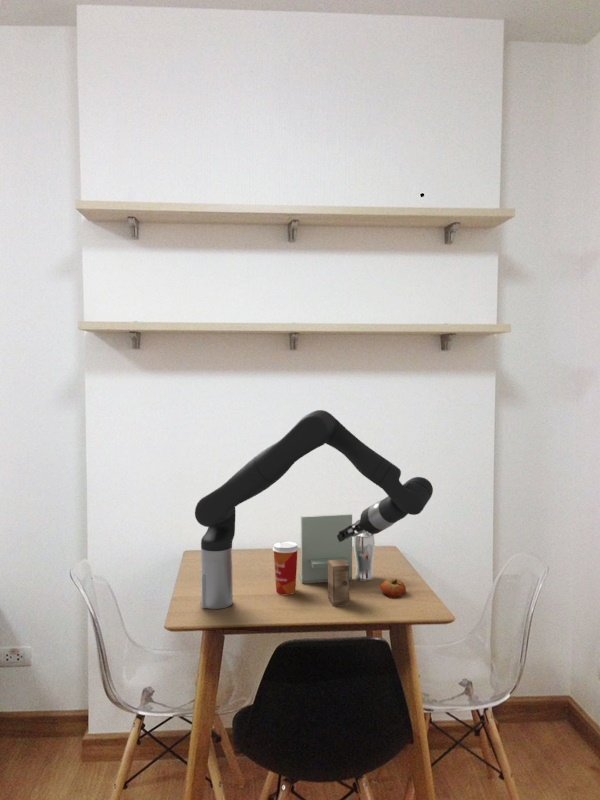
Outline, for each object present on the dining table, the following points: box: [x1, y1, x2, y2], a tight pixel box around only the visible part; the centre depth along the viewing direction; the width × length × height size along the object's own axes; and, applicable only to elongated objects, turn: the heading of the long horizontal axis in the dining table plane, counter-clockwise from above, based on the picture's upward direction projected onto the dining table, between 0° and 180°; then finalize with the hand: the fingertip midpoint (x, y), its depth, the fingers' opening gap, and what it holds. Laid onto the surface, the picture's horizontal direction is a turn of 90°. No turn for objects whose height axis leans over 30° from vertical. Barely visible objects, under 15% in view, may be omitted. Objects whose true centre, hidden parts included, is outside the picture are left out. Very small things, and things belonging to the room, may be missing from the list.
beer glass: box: [353, 531, 376, 582], centre depth 212 cm, size 7×7×15 cm
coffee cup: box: [272, 541, 300, 595], centre depth 199 cm, size 8×8×15 cm
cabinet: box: [327, 559, 350, 607], centre depth 190 cm, size 5×7×12 cm
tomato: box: [380, 578, 407, 599], centre depth 197 cm, size 8×7×7 cm
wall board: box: [298, 513, 353, 584], centre depth 208 cm, size 17×10×22 cm, turn 101°
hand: (349, 534), depth 189 cm, fingers open, 8 cm apart
